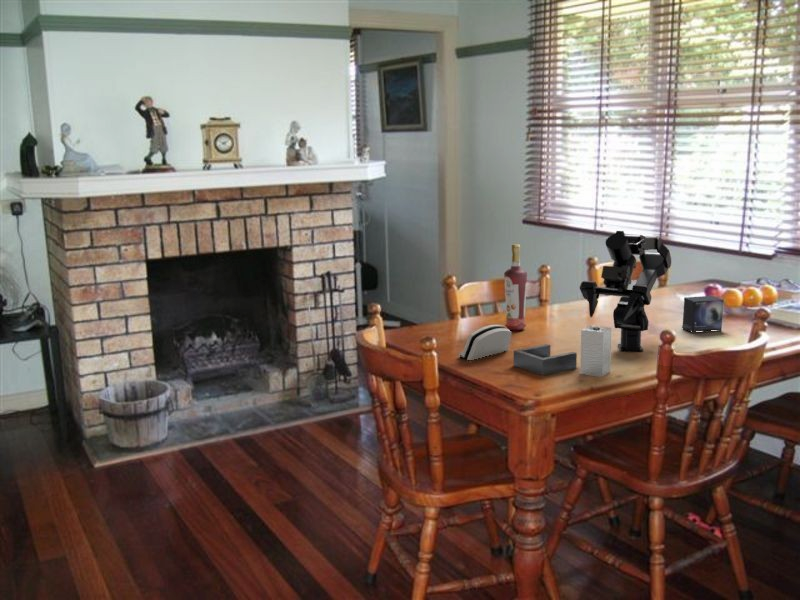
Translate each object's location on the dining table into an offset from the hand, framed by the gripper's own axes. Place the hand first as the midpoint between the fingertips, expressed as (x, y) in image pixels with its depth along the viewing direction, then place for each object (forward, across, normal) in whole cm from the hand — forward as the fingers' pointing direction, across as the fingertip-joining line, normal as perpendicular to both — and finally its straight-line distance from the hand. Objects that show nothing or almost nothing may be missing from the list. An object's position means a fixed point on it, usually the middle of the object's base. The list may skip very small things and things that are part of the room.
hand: (607, 318), depth 218 cm
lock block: (+15, 0, +4) cm, 15 cm away
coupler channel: (+16, -14, +3) cm, 21 cm away
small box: (-28, +12, +48) cm, 57 cm away
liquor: (-9, -40, +28) cm, 50 cm away
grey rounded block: (+14, -34, +6) cm, 37 cm away
